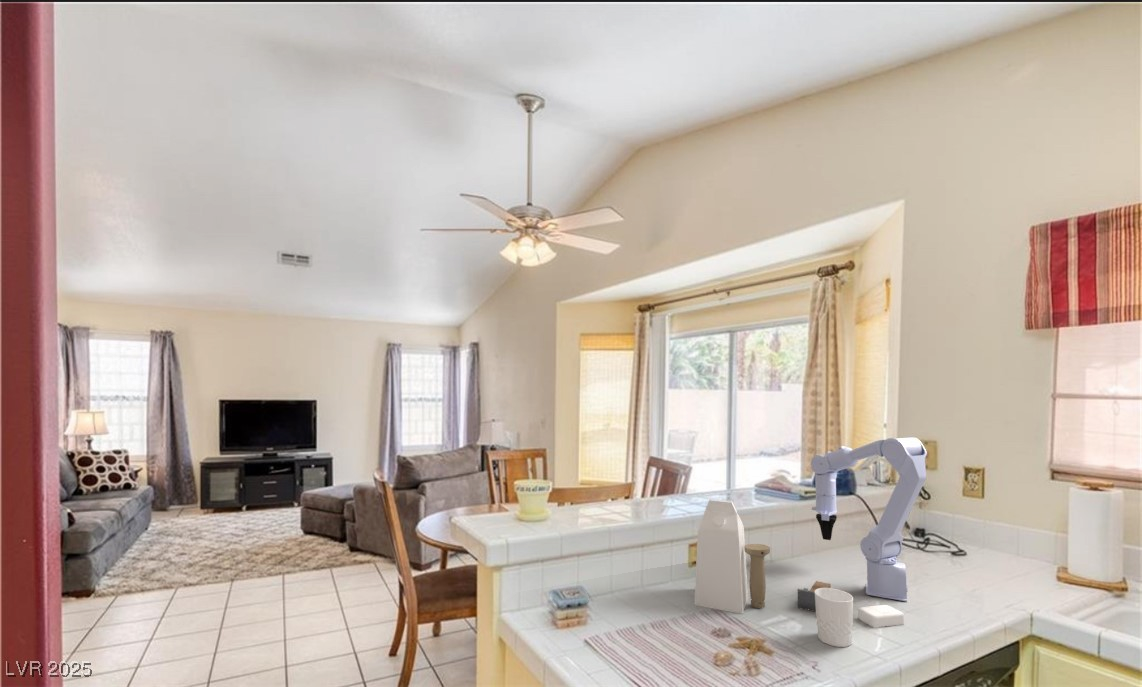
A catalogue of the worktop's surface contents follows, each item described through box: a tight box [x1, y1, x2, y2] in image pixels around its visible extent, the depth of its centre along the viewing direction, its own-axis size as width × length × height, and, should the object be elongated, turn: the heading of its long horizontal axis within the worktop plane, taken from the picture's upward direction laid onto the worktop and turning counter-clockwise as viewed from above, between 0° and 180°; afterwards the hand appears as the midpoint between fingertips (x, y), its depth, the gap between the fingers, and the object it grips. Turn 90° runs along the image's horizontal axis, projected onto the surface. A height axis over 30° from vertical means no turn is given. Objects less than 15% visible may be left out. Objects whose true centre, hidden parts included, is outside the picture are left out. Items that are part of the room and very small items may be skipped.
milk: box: [694, 498, 749, 615], centre depth 140 cm, size 12×12×26 cm
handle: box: [744, 543, 771, 609], centre depth 136 cm, size 5×6×15 cm
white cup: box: [814, 587, 854, 648], centre depth 119 cm, size 8×8×10 cm
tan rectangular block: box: [809, 580, 832, 591], centre depth 139 cm, size 10×4×4 cm, turn 144°
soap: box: [857, 604, 905, 629], centre depth 128 cm, size 9×6×3 cm, turn 103°
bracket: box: [797, 587, 816, 612], centre depth 136 cm, size 6×10×4 cm
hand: (826, 539), depth 161 cm, fingers closed
